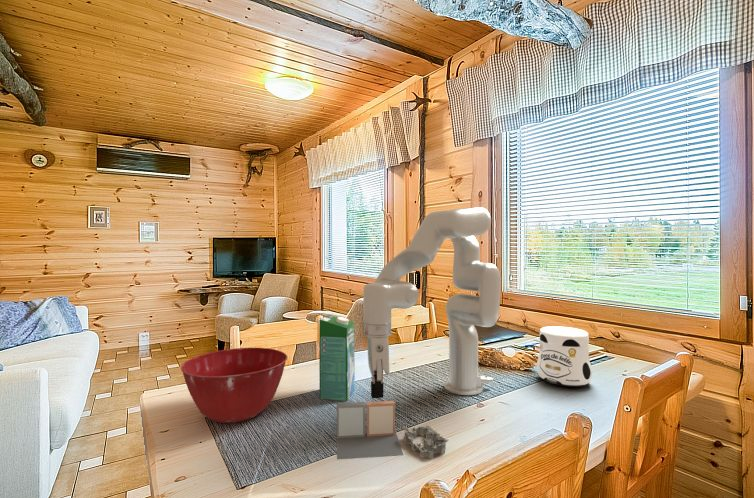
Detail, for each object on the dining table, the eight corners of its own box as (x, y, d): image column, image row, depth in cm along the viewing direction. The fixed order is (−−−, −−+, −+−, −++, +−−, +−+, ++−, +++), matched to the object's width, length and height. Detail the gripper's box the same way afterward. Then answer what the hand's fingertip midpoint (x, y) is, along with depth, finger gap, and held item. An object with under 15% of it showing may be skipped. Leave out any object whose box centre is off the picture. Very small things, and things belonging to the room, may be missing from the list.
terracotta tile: (393, 431, 97) (393, 400, 97) (394, 435, 96) (394, 403, 96) (366, 433, 97) (366, 401, 96) (367, 436, 95) (367, 404, 95)
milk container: (541, 388, 128) (541, 335, 128) (533, 372, 145) (533, 324, 144) (598, 393, 124) (599, 338, 124) (583, 375, 141) (583, 326, 140)
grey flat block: (364, 433, 97) (364, 402, 96) (365, 437, 95) (365, 404, 95) (336, 435, 96) (336, 403, 96) (336, 438, 94) (336, 406, 94)
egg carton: (399, 442, 94) (399, 425, 94) (425, 435, 97) (425, 419, 97) (423, 464, 84) (423, 446, 84) (451, 456, 88) (451, 438, 88)
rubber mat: (393, 426, 102) (393, 424, 102) (403, 457, 87) (403, 455, 87) (336, 429, 100) (336, 427, 100) (337, 461, 85) (337, 459, 85)
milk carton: (347, 401, 118) (346, 320, 118) (319, 398, 120) (319, 319, 120) (354, 390, 127) (354, 315, 127) (328, 388, 129) (328, 314, 128)
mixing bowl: (187, 401, 118) (186, 351, 118) (281, 388, 128) (281, 342, 128) (174, 446, 92) (173, 382, 92) (294, 426, 102) (293, 368, 102)
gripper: (395, 335, 96) (395, 408, 96) (387, 323, 111) (387, 386, 111) (365, 336, 95) (365, 409, 95) (361, 323, 110) (361, 387, 110)
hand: (377, 396), depth 103 cm, fingers closed
